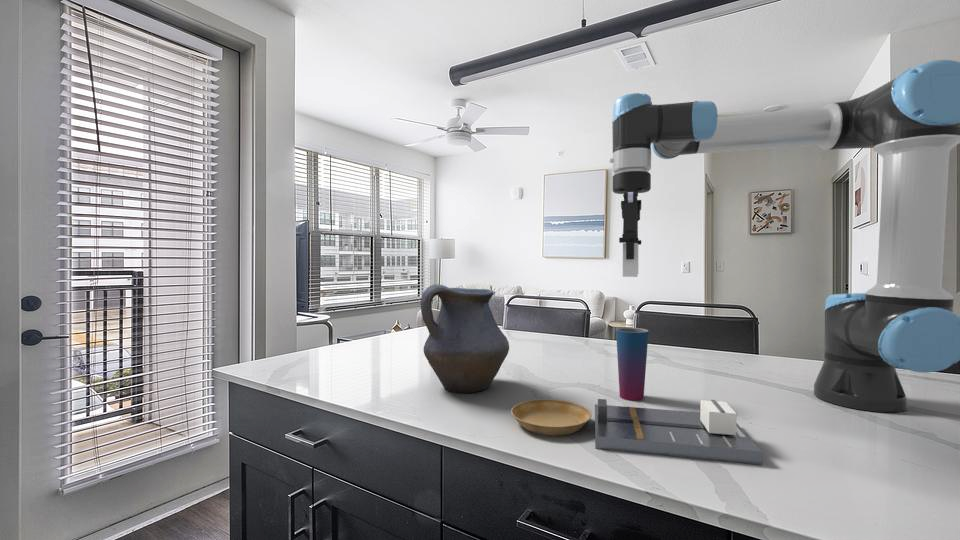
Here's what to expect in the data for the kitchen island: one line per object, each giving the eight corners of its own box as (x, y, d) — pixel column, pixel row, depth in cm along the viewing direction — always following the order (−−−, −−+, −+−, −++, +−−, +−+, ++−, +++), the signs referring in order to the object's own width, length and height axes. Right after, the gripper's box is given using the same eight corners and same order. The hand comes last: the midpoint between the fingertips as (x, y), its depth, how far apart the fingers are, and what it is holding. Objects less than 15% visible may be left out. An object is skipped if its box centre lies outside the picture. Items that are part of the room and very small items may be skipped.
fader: (725, 421, 77) (725, 400, 77) (736, 435, 71) (736, 412, 71) (700, 419, 78) (700, 399, 78) (709, 432, 72) (709, 410, 72)
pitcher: (527, 390, 103) (527, 283, 102) (446, 409, 91) (445, 287, 90) (477, 372, 120) (477, 280, 119) (404, 385, 108) (403, 282, 107)
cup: (650, 403, 94) (651, 332, 94) (617, 401, 95) (617, 331, 95) (645, 393, 101) (645, 327, 100) (614, 391, 102) (614, 327, 102)
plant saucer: (495, 422, 84) (494, 408, 84) (549, 406, 93) (549, 393, 93) (552, 449, 72) (552, 433, 72) (608, 427, 81) (608, 413, 81)
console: (729, 425, 81) (729, 398, 81) (761, 464, 66) (762, 431, 66) (594, 414, 87) (594, 389, 87) (595, 448, 72) (595, 417, 72)
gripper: (616, 183, 105) (615, 273, 105) (607, 162, 81) (607, 277, 82) (650, 181, 102) (649, 273, 103) (651, 159, 79) (651, 278, 79)
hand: (631, 275), depth 92 cm, fingers open, 13 cm apart
